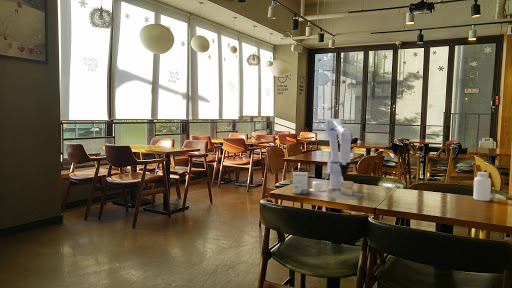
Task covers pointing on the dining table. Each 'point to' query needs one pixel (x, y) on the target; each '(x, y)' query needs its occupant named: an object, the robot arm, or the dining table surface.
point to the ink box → (300, 182)
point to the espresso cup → (317, 186)
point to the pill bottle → (482, 187)
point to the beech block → (347, 187)
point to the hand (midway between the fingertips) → (344, 175)
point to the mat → (342, 196)
